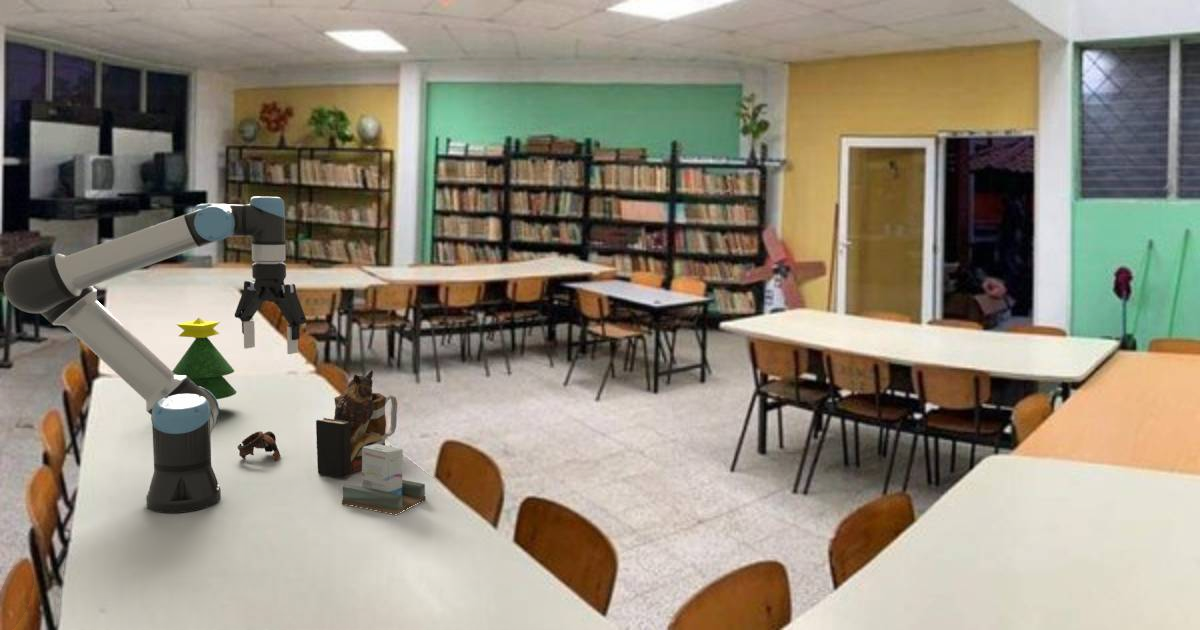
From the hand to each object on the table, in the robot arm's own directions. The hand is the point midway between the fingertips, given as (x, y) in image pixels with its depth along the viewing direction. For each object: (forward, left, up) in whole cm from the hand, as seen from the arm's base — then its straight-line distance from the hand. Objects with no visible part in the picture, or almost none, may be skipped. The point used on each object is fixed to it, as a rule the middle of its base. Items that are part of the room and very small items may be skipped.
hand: (270, 350), depth 214 cm
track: (-1, -34, -32) cm, 46 cm away
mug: (+31, -4, -32) cm, 45 cm away
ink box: (-1, -34, -31) cm, 46 cm away
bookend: (+14, -12, -32) cm, 37 cm away
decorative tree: (+37, +64, -32) cm, 81 cm away
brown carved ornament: (+11, +14, -32) cm, 37 cm away
